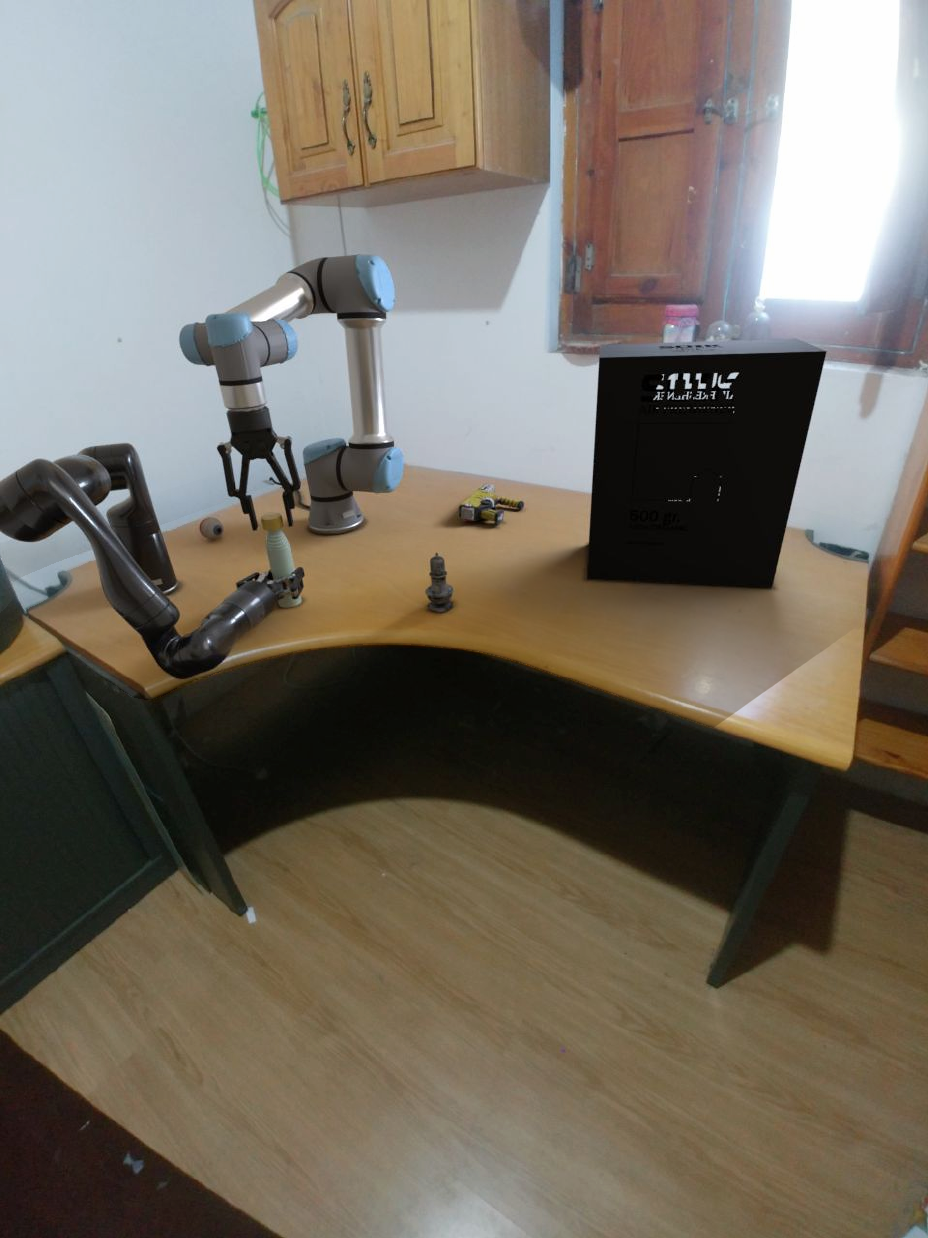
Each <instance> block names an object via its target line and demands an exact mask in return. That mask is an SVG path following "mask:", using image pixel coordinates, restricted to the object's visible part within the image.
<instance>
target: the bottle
mask: <svg viewBox="0 0 928 1238" xmlns="http://www.w3.org/2000/svg"><path fill="white" fill-rule="evenodd" d="M266 532H267V534H266V537H265V538H266V539H265V550H266V555H267V559H268V564H269V568H270V569H271V572H272V576H273V580H275V579H277V578H279V577H281V576H284V577H286V576H288V575H290V574H291V573H292V572H293V571H294V570H296V568H295V563H294V558H293V554H292V549H291V544H290V541H289V540H288V538H287V536H286V534H285V533H284V531H283V530H282V528H281V529H279V530H275V531H266ZM281 583H282V582H281ZM289 584H291V580H289ZM301 596H302V595H301V594H300V595H299V597H298V599H292V596H285V597H284V598H283V599H281V600H279V601H277V603H278V605H279V607H281V608H285V609H288V608H294V607H298V606H299V605H300V604H301V603H302V597H301Z"/></svg>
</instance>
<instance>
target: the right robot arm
mask: <svg viewBox="0 0 928 1238" xmlns="http://www.w3.org/2000/svg"><path fill="white" fill-rule="evenodd" d="M395 300H396V291H395V285H394V280H393V277H392V274H391V272H390V269H389V268H388V265H387V263H386V262H385V261H384V260H383V259H382V258H381V257H379V256H378V255H376V254H363V253H358V254H351V255H350V254H349V255H338V256H323V257H322V256H321V257H317V258H315V259H311V260H309V261H306V262H304V263H302V264H300V265H298V266H296V267H294V268H292V269H291V270H288V271H287V272H284V273H283V274H282V275H281V274H280V276H279V277H278V278H277V279H276V282H275V284H274V285H272V286H270V287H269V288H266V289H265V290H263V291H261V292H260V293H257V294H256V295H254V296H252V297H251V298H249V299H247V300H245V301H243V302H241V303H239V304H238V305H235V306H234V307H232V308H231V309H228V310H227V311H225V312H222V313H220V312H219V313H212V314H208V315H207V316H206V318H205V319H204V321H205V322H198V321H197V322H194V323H188V324H185V325H184V326H183V327H181V329H180V332H179V336H178V343H179V348H180V349H181V352H182V355H183V356H184V358H185V359H186V360H187V361H188V362H189V363H190V364H193V365H195V366H196V365H198V366H206V367H212V366H213V367H215V370H216V374H217V378H218V384H219V388H220V393H221V399H222V402H223V406H224V408H226V409H228V410H227V411H226V412H225V414H226V418H227V422H228V426H229V430H230V439H229V440H228V441H226V442H219V444H218V445H217V446H216V450H217V452H218V454H219V456H220V458H221V461H222V468H223V473H224V480H225V484H226V486H225V487H226V491H227V495H228V497H230V498H233V497H234V498H237V499H238V500H239V502H240V503H239V504H240V507H241V510H242V513H243V514H244V515H248V517H249V521H250V525H251V529H252V532H257V531H258V528H259V523H258V518H257V514H256V510H255V506H254V502H253V498H252V494H247V493H248V482H249V474H250V473H249V472H250V464H251V461H254V460H257V459H260V460H265V461H266V462H267V464H268V465H269V466H270V468H271V470H272V472H273V473H274V475H275V477H276V479H277V481H276V480H275V479H274V478H273V477H272V476H269V478H268V481H272V482H273V483H274V484H275V485H278V486H281V487H282V489H283V491H282V495H281V497H282V501H283V506H284V511H285V516H286V520H287V521H286V522H287V525H288V528H290V527H291V528H292V527H293V526H294V518H293V513H292V510H295V508H296V500H295V495H294V492H296V493H297V495H298V504H299V505H300V506H301V507H303V508H306V509H309V513H308V521H307V522H308V523H307V524H308V528H309V529H308V530H310V531H311V532H312V533H314V534H317V535H323V536H324V535H325V536H327V535H329V536H331V535H339V534H340V535H341V534H345V533H350V532H353V531H355V530H357V529H359V528H361V527H362V526H363V525H364V523H365V519H364V514H363V512H362V510H361V508H360V505H359V504H358V501H357V500H356V498H355V495H354V492H359V493H374V494H376V495H377V494H390V493H392V492H394V491H395V490H396V489H397V488H398V487H399V485H400V483H401V481H402V478H403V474H404V467H405V458H404V457H405V456H404V454H403V450H402V449H401V448H399V447H398V446H395V438H394V437H393V436H392V435H391V434H389V432H388V419H387V405H386V404H387V403H386V389H385V372H384V356H383V341H382V327H383V326H384V325H385V324H386V323H387V321H388V320H387V319H388V317H387V313H389V312H390V311H392V310H393V308H394V306H395V303H394V302H395ZM319 314H336V320H337V323H339V325H340V326H341V327H342V328H343V329H344V338H345V350H346V351H345V352H346V360H347V361H346V363H347V374H348V375H347V376H348V386H349V396H350V398H349V399H350V408H351V420H352V431H353V433H352V435H351V436H350V437H349V438H348V441H346V439H345V438H342V437H334V438H328V439H323V440H320V441H319V440H318V441H316V442H313V443H309V444H308V445H306V446H305V447H304V448H303V450H302V457H303V458H302V460H303V467H304V471H305V477H306V481H307V486H308V492H309V498H310V505H308V504H304V503H303V502H302V494H301V492H300V489H301V486H302V482H301V479H300V475H299V471H298V467H297V464H296V461H295V457H294V454H293V450H292V446H293V445H292V444H293V438H292V437H291V436H289V435H288V436H278V434H277V433H276V432H275V430H274V428H273V423H272V418H271V413H270V408H269V407H268V406H267V403H268V399H267V394H266V389H265V384H264V380H263V375H262V369H261V368H264V367H268V366H272V365H277V364H280V365H281V364H284V363H285V362H287V361H290V360H292V359H293V358H294V357H295V356H296V355H297V352H298V349H299V339H298V336H297V333H296V332H295V329H294V327H293V326H292V325H291V324H289V323H290V322H292V321H293V320H295V319H296V320H303V319H305V318H307V317H309V316H313V315H319ZM276 444H279V447H280V449H282V450H283V454H284V458H285V461H286V465H287V468H288V471H289V475H290V479H291V482H292V483H291V482H290V480H289V479H288V477H287V475H286V473H285V472H284V470H283V468H282V466H281V465H280V462H279V461H278V459H277V457H276V455H275V453H274V451H273V450H274V449H275V446H276ZM347 444H348V445H347ZM232 448H234V449H235V450H236V451H237V452H238V453H239V454H240V455H241V464H240V476H239V484H238V485H239V487H238V488H237V487H236V480H235V473H234V467H233V461H232V455H231V454H232V451H233V449H232Z"/></svg>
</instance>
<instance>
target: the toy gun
mask: <svg viewBox="0 0 928 1238" xmlns="http://www.w3.org/2000/svg"><path fill="white" fill-rule="evenodd" d="M495 489H496V486H495V484H493V483H490V485H489V483H488V482H486V483H485V484H483V485H482V486H481V487H480V488H478V489H476V490H475V491H474V492H473V493H472V494H470V495H469V496H468V497H467V498H466V499H465V500H464V501H463V502H462V503H461V504H460V505H458V513H457V517H458V518H459V519H460V520H463V522H469V523H470V521H471V522H478V521H481V520H482V521H483V520H488V521H492V522H494V525H500V524H501V523H502V522H503V521H504V516H505V510H504V509H502V508H501V509H499V510H498V509H497V507H496V506H498V505H500V506H505V507H509V508H513V509H514V508H515V509H517V510H519V511H520V510H523V509H524V508H525V502H524V501H523V500H517V499H513V498H509V497H505V496H500V498H498V496H497V495H496V493H495Z"/></svg>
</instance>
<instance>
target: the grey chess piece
mask: <svg viewBox="0 0 928 1238" xmlns="http://www.w3.org/2000/svg"><path fill="white" fill-rule="evenodd" d="M429 566H430V572H429V573H428V575H429V577H430V581H431V583H430V584H431V585H430V586H428V587H426V589H425V590H424V592H425V595H426V596H427V599H428V600H429V601H430V602H428V603H427V604H428V606H427V608H428V609H429V610H430V611H432V612H435V613H443V612H448V611H450V610H451V609H453V607H454V603H453V601H452V600H451V599H452V597H453V593H454V591H455V589H454V587H453V586H452V585H450V584H448V583H447V575H448V572H447V571H446V565H445V559H444V558H443V556H440V555H439V553H438V552H435V554H434V556H432V557H431V558H430V559H429Z"/></svg>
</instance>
